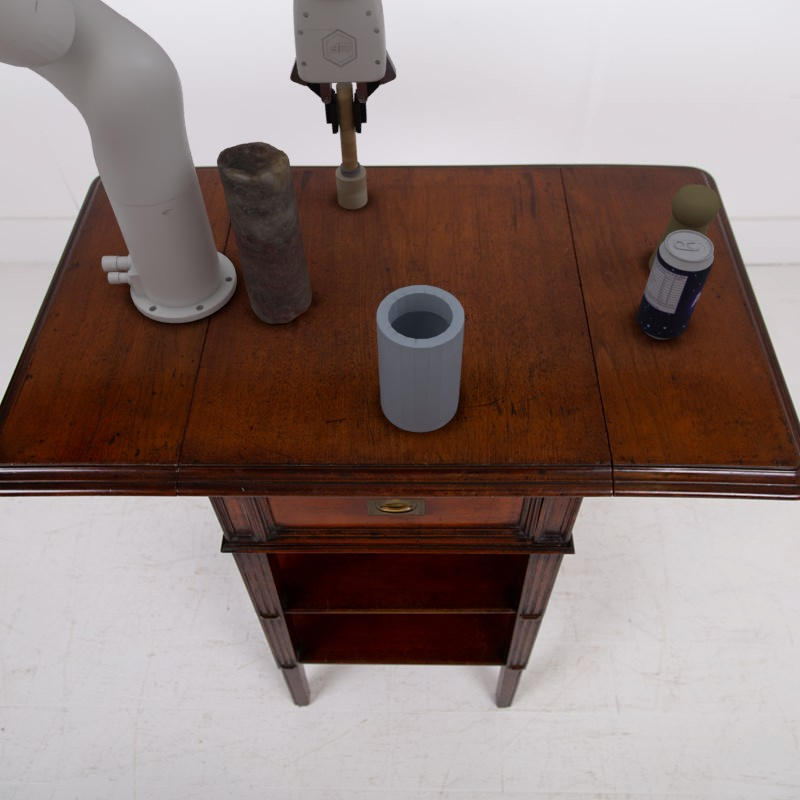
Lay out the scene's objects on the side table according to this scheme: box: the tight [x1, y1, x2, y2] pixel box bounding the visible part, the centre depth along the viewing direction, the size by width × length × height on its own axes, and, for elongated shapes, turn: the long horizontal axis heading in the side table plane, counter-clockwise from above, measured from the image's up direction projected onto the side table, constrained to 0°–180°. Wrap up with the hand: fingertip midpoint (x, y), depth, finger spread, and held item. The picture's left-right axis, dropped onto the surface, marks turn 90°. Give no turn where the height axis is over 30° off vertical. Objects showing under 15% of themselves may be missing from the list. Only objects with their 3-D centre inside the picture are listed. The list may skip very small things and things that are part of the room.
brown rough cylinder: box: [216, 141, 313, 325], centre depth 83 cm, size 8×7×20 cm
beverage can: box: [635, 230, 715, 340], centre depth 82 cm, size 6×6×12 cm
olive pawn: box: [648, 183, 721, 271], centre depth 89 cm, size 6×6×11 cm
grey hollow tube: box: [376, 284, 466, 433], centre depth 76 cm, size 8×8×13 cm
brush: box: [335, 83, 368, 210], centre depth 96 cm, size 4×4×16 cm
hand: (347, 126), depth 94 cm, fingers closed
